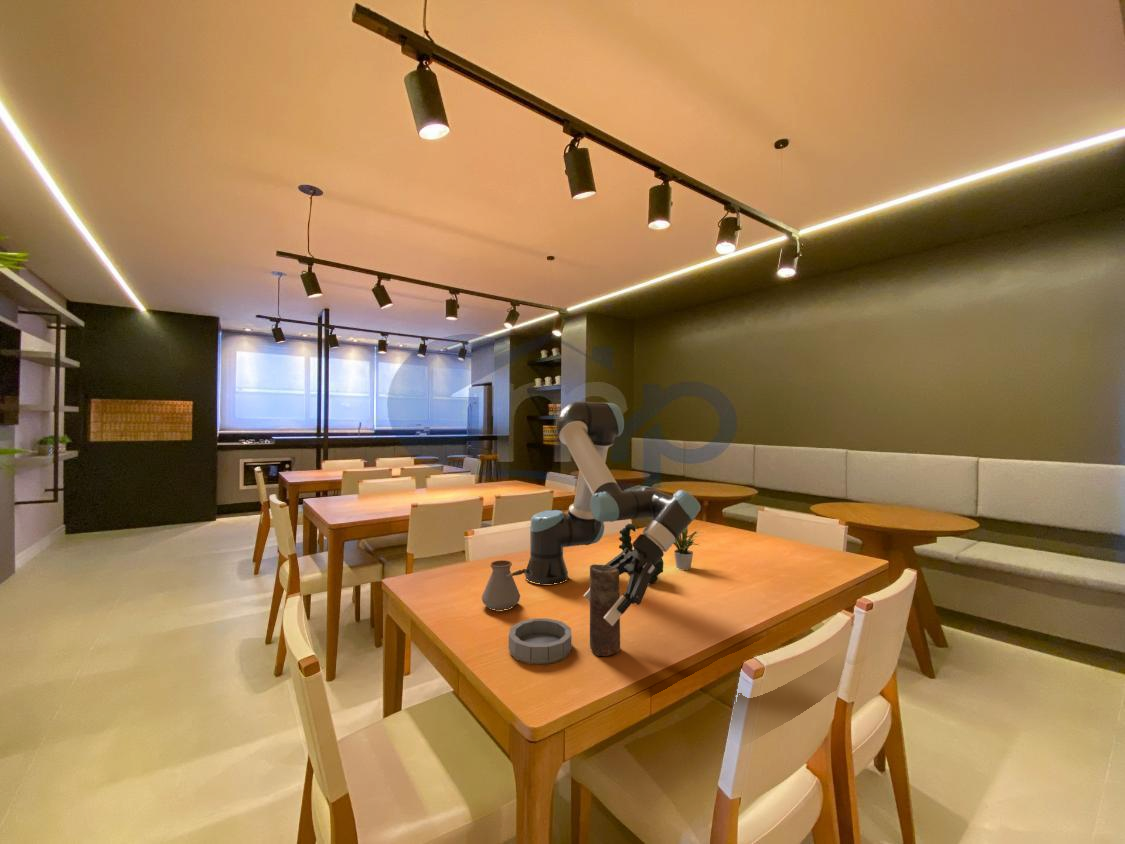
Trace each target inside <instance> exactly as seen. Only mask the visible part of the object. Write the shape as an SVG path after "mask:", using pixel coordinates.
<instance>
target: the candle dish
mask: <svg viewBox="0 0 1125 844" xmlns="http://www.w3.org/2000/svg"><path fill="white" fill-rule="evenodd" d="M572 639H573V637H572V627H570V626H569V625H567V624H566V623H565V622H563V621H561V620H558V619H557V620H556V619H552V618H547V617H546V618H529V619H527V620H522V621H518V622H517V623H516V624H514V625H513V626H512V627H510V628H509V631H508V651H510V652H509V654H510V653H511V654H510V655H512V656H513V657H514V658H513V657H512V656H511V657H512V658H513V659H515V658H516V659H518V660H519V661H518V660H517V661H518V662H520V661H522V662H521V663H523V662H525V663H524V664H527V663H530V664H529V665H534V664H544V665H550V663H551V664H554V662H555V663H558V662H561V661H562V659H563V660H564V659H566V658H567V657H569V655H570V654H571V652H570V651H572ZM569 653H570V654H569ZM565 657H566V658H565ZM516 659H515V660H516ZM557 661H558V662H557Z"/></svg>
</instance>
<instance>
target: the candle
mask: <svg viewBox="0 0 1125 844" xmlns="http://www.w3.org/2000/svg"><path fill="white" fill-rule="evenodd" d="M589 588H590V602H589V647H590V649H591V652H592V654H594V655H595V656H597V657H598V656H599V657H601V656H603V657H608V656H610V655H613V654H616V653H618V652H619V651H620V648H621V622H620V621H621V617H620V618H619V619H618V620H617V621H616V623H615V624H614V625H613V626H612V625H611V624H610V623H609V622H607V621H606V620H605V619H604V618H603V617H604V616H605V615H606V614H607V612H608V611H609V610H610V609H611V608H612V606H613V605H614V604H615V603H616V602H617V600H618V599H619V598H620V575H619V569H617V568H614V567H612V566H609V565H605V564H591V565H590V566H589Z"/></svg>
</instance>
